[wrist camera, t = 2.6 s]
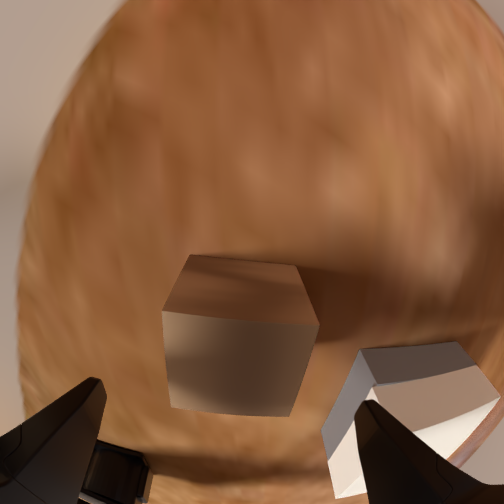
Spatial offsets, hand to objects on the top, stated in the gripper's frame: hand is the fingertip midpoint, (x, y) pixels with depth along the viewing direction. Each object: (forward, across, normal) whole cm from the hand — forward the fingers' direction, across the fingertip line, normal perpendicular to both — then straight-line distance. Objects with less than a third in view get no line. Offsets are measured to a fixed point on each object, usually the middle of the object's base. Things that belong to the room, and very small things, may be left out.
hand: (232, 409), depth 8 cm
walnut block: (+6, 0, 0) cm, 7 cm away
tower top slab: (+3, -12, +7) cm, 14 cm away
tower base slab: (+7, -12, +7) cm, 16 cm away
